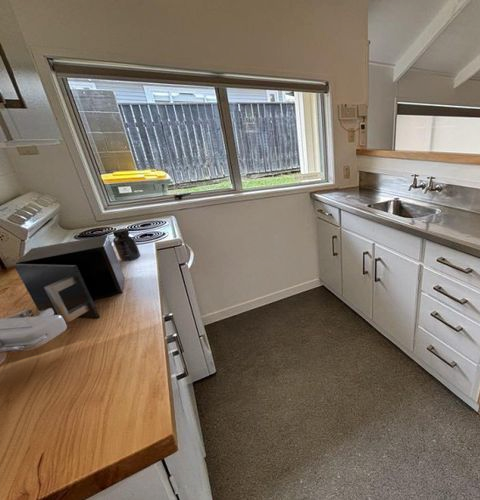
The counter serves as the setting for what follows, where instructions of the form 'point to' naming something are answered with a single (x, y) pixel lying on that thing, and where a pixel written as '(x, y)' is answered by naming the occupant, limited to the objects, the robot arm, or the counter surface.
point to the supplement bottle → (125, 245)
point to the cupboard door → (58, 290)
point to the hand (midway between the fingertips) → (39, 311)
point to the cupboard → (85, 263)
